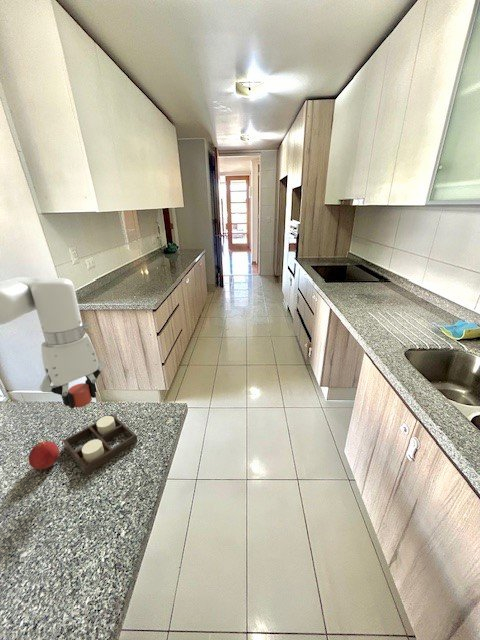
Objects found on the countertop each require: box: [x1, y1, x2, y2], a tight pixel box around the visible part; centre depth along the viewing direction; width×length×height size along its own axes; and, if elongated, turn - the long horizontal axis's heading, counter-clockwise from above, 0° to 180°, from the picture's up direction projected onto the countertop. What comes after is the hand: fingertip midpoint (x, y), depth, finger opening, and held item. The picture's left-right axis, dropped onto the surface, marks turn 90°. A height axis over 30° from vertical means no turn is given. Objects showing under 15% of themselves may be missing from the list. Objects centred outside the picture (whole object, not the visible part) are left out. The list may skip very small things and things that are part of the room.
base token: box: [81, 439, 105, 465], centre depth 64 cm, size 4×4×4 cm
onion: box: [28, 440, 60, 470], centre depth 62 cm, size 6×6×8 cm
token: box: [95, 415, 117, 436], centre depth 72 cm, size 4×4×4 cm
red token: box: [68, 382, 93, 409], centre depth 64 cm, size 4×4×4 cm
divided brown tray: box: [62, 413, 138, 477], centre depth 69 cm, size 13×13×3 cm
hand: (81, 400), depth 65 cm, fingers closed on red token, 4 cm apart
